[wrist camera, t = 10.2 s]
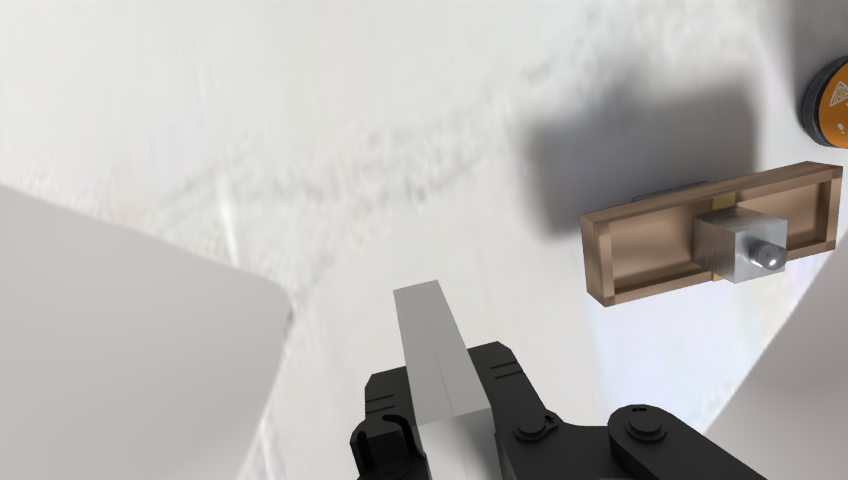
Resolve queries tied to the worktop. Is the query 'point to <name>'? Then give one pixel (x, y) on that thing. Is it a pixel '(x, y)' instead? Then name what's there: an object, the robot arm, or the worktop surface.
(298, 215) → the worktop surface
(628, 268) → the beam
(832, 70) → the canister
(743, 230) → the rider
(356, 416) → the worktop surface
